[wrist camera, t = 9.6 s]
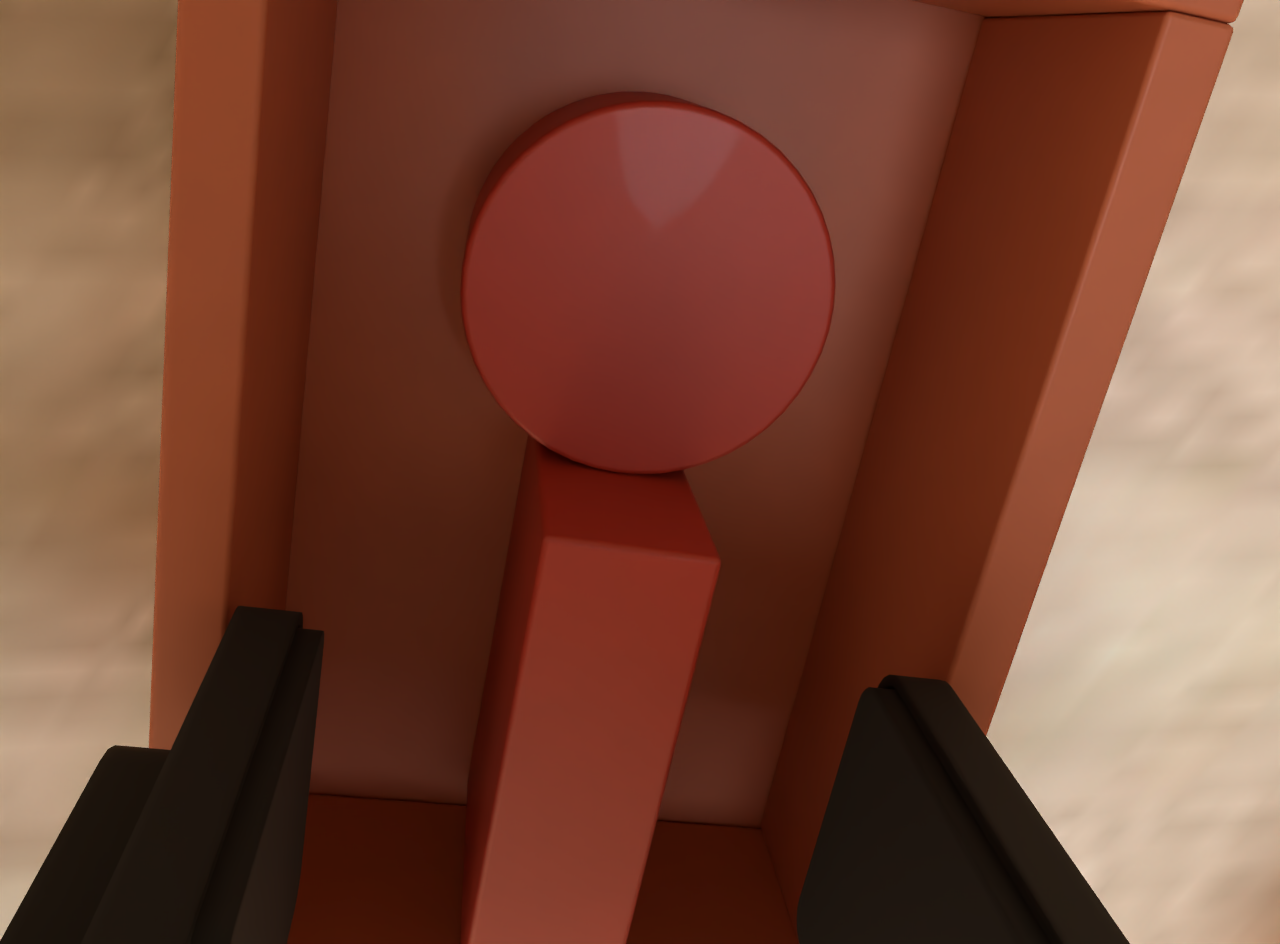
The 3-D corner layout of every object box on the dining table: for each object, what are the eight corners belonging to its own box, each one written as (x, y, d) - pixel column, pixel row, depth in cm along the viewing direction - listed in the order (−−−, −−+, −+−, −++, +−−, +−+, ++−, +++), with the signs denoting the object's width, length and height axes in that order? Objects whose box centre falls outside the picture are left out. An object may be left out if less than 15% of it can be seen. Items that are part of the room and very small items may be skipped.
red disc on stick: (492, 57, 11) (489, 67, 8) (827, 128, 12) (952, 163, 9) (389, 774, 14) (355, 993, 11) (660, 799, 15) (705, 1014, 12)
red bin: (300, -199, 11) (188, -328, 7) (1025, -30, 12) (1267, -60, 8) (229, 793, 15) (135, 1057, 11) (779, 834, 16) (866, 1083, 12)
